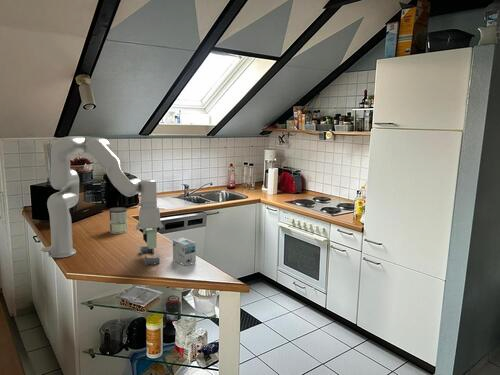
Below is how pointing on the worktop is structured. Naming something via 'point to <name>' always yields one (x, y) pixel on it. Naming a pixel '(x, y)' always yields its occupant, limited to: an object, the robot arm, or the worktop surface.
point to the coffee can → (118, 220)
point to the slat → (151, 238)
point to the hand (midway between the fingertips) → (149, 240)
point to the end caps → (149, 260)
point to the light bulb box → (184, 251)
